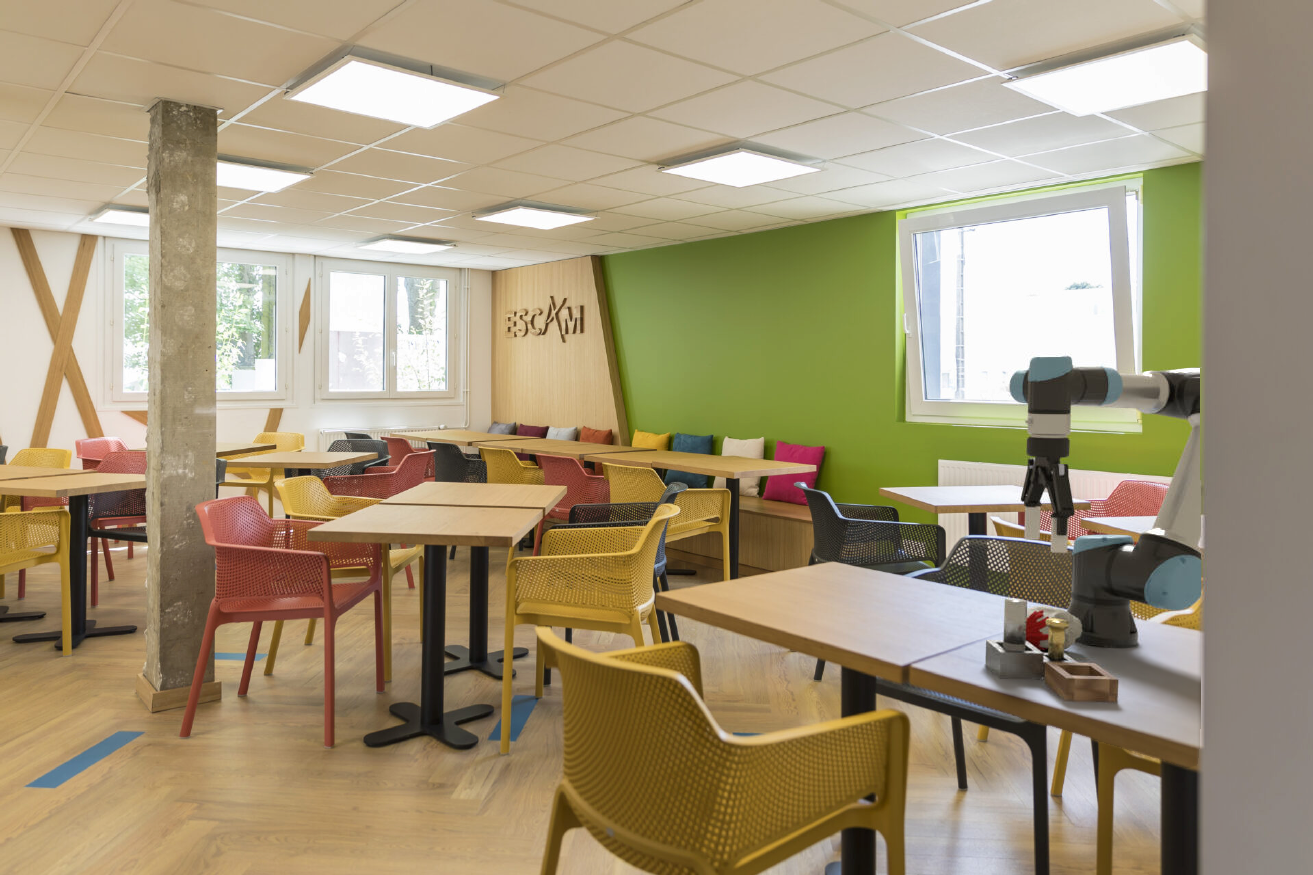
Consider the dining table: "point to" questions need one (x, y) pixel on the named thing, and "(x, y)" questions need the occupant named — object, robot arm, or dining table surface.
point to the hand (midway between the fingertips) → (1044, 545)
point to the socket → (1018, 661)
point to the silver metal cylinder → (1015, 624)
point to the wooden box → (1081, 681)
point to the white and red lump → (1040, 632)
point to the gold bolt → (1056, 637)
